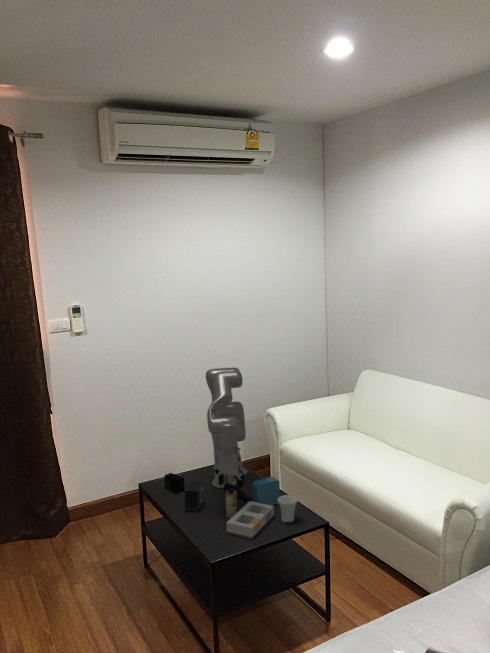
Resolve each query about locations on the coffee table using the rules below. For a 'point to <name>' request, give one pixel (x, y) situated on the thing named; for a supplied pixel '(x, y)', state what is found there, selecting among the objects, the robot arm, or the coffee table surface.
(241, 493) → the hairbrush
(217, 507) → the coffee table surface
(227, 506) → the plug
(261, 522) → the socket block
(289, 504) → the cup
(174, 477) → the digital camera
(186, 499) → the small box
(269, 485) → the data package
